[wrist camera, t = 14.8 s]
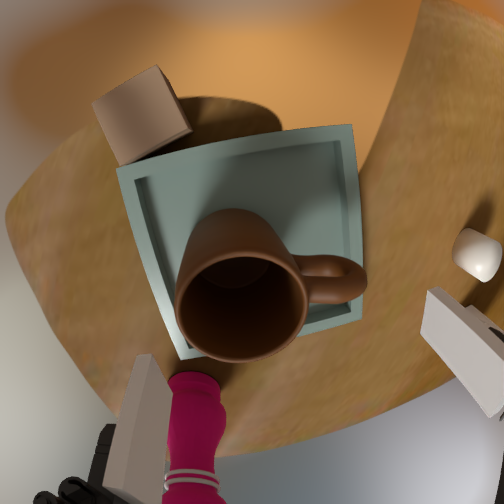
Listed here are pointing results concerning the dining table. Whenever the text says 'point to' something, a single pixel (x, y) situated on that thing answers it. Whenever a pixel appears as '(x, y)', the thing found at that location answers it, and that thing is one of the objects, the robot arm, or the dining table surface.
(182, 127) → the block
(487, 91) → the dining table surface
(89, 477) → the robot arm
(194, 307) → the mug
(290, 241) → the tray
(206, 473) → the pepper mill
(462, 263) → the white rounded cylinder
